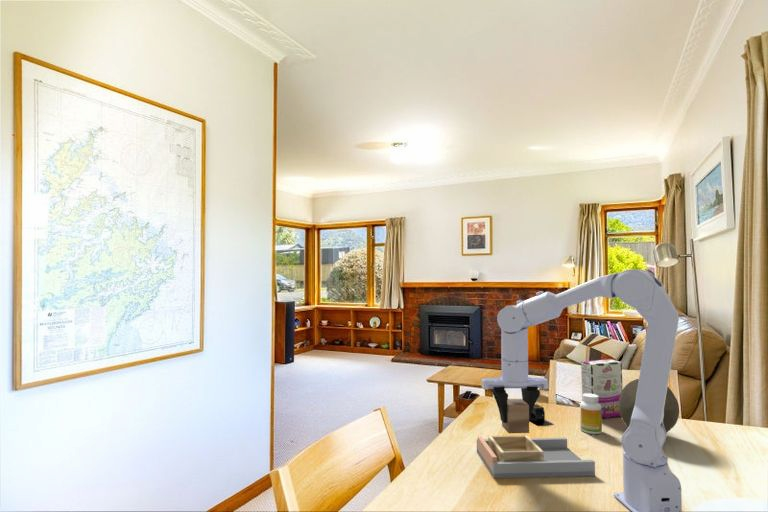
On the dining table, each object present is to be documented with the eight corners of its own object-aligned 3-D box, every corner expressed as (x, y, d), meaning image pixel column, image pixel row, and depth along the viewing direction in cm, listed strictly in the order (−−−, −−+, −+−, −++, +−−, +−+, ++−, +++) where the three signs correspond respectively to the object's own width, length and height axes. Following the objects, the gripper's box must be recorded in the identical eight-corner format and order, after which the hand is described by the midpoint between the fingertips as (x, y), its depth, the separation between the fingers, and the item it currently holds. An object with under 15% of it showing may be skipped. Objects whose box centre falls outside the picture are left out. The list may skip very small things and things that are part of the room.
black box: (560, 427, 124) (560, 411, 124) (538, 430, 122) (537, 414, 122) (533, 414, 136) (533, 399, 136) (513, 416, 134) (512, 401, 134)
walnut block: (529, 432, 95) (528, 405, 95) (508, 433, 95) (508, 405, 95) (521, 425, 100) (521, 398, 100) (501, 425, 99) (501, 399, 100)
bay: (595, 475, 94) (594, 456, 94) (493, 478, 93) (493, 459, 93) (565, 449, 108) (565, 433, 108) (476, 451, 106) (476, 435, 106)
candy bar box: (611, 411, 137) (610, 358, 137) (624, 416, 132) (623, 361, 133) (581, 414, 134) (580, 360, 134) (592, 420, 129) (592, 364, 130)
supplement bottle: (604, 435, 117) (603, 398, 118) (582, 433, 118) (582, 397, 119) (598, 428, 122) (598, 393, 123) (578, 426, 124) (577, 391, 124)
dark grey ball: (608, 435, 117) (607, 378, 118) (632, 423, 126) (631, 371, 126) (667, 452, 106) (666, 389, 107) (689, 438, 115) (688, 381, 115)
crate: (543, 467, 96) (543, 451, 96) (501, 468, 95) (501, 452, 95) (527, 449, 105) (527, 435, 105) (488, 450, 104) (488, 436, 105)
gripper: (538, 355, 102) (539, 414, 102) (477, 356, 102) (477, 415, 101) (552, 362, 95) (552, 425, 95) (486, 362, 95) (487, 426, 94)
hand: (515, 421), depth 98 cm, fingers closed on walnut block, 4 cm apart
